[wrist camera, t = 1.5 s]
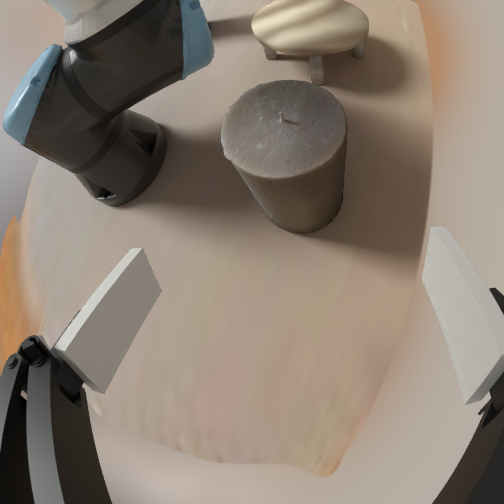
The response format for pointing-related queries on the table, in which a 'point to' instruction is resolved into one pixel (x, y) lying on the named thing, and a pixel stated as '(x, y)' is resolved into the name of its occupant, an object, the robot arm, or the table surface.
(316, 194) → the pillar candle
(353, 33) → the beige round legged stand
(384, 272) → the table surface
